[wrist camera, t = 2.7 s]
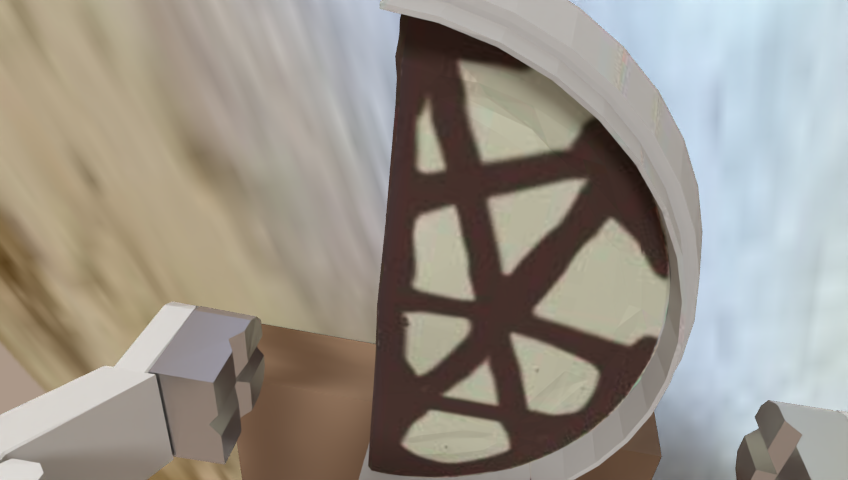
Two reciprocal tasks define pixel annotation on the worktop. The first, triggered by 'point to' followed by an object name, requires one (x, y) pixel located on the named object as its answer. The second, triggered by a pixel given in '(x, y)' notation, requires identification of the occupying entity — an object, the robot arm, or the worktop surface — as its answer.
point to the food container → (526, 246)
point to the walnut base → (350, 414)
